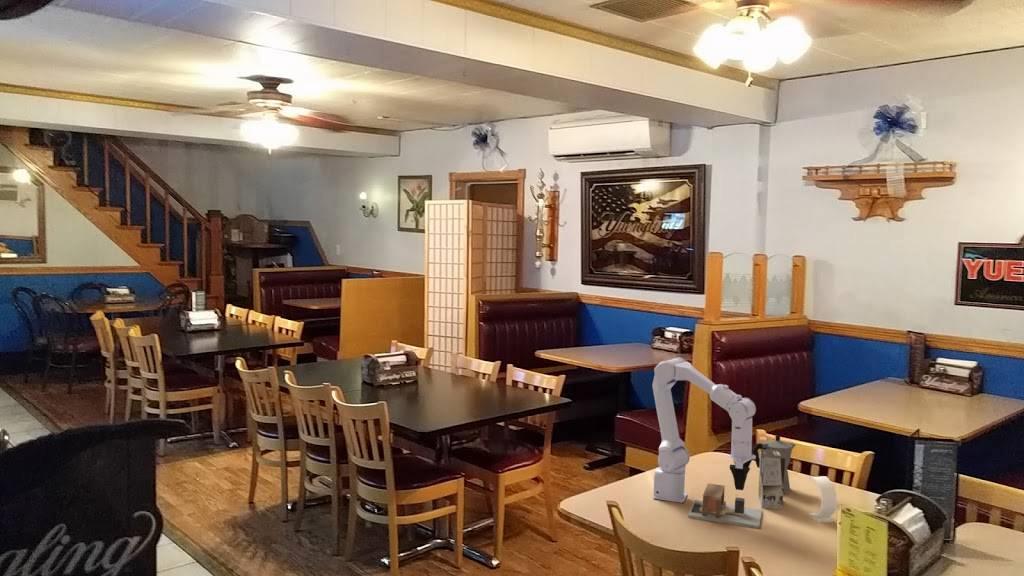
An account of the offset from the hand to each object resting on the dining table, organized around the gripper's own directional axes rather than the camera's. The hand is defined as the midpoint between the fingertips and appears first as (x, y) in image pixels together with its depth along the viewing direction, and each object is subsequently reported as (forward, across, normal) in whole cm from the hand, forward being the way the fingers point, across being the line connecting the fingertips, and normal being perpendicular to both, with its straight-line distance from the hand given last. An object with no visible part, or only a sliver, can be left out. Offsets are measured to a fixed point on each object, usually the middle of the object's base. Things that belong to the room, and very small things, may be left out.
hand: (740, 485), depth 222 cm
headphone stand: (+10, +8, -23) cm, 26 cm away
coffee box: (+10, +15, -8) cm, 20 cm away
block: (+8, 0, +8) cm, 11 cm away
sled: (+9, 0, +5) cm, 10 cm away
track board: (+10, 0, +4) cm, 10 cm away
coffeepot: (+10, +29, -8) cm, 32 cm away
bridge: (+10, 0, +8) cm, 12 cm away
